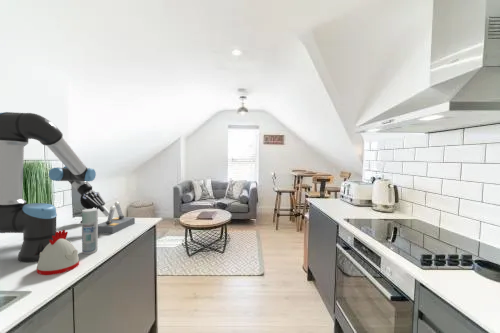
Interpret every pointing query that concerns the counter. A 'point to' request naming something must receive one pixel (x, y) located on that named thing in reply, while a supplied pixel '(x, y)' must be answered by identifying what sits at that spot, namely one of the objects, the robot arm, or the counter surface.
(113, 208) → the lever near
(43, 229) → the robot arm
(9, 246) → the counter surface
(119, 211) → the lever far
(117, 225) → the switch box
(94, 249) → the spray can
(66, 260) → the white chicken hat
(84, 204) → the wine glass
